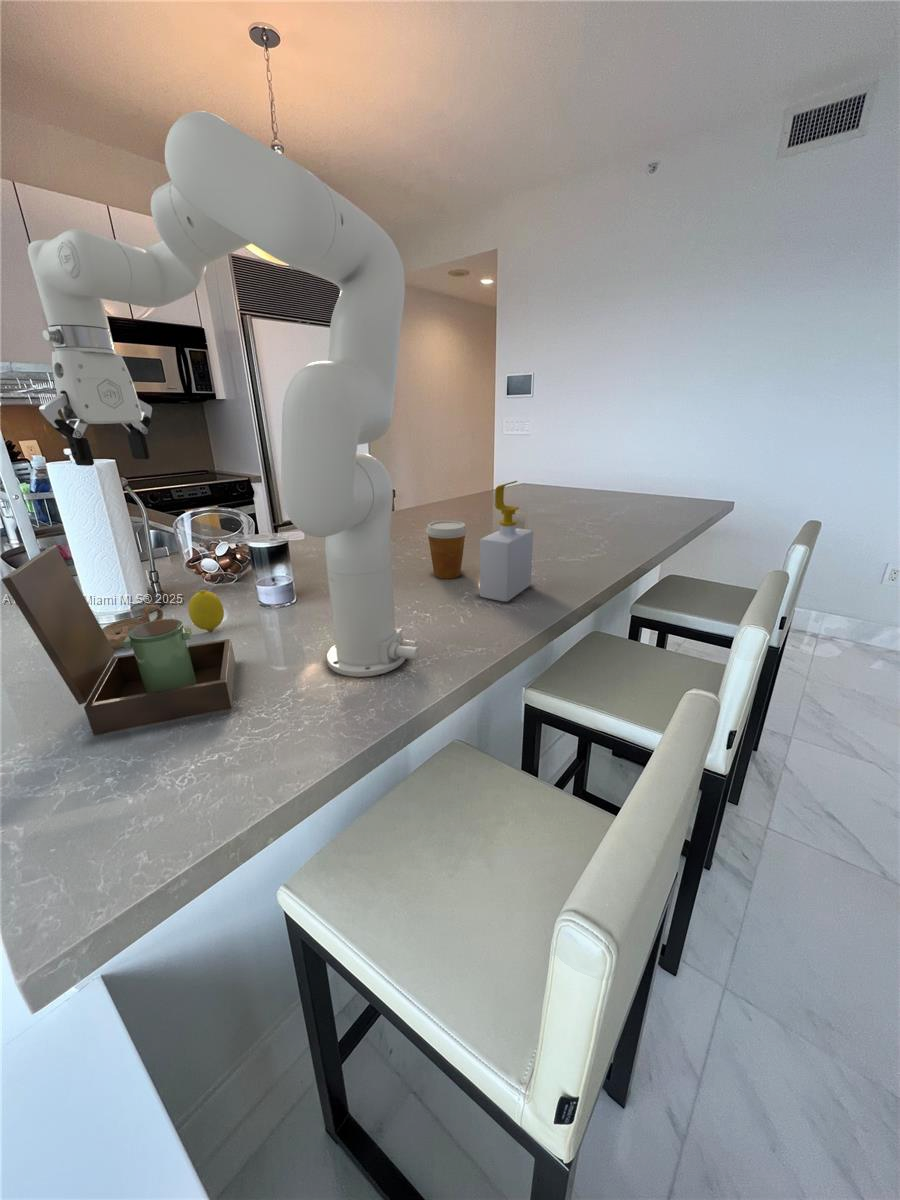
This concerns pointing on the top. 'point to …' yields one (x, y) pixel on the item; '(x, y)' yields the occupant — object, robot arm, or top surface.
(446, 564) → the disposable coffee cup
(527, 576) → the soap bottle
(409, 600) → the top surface
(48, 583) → the chest lid
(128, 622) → the oil lamp
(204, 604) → the lemon
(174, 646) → the green pot
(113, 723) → the chest
